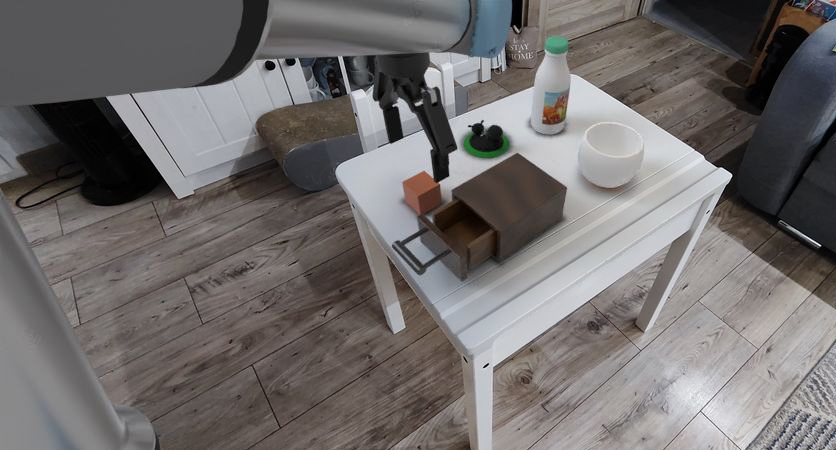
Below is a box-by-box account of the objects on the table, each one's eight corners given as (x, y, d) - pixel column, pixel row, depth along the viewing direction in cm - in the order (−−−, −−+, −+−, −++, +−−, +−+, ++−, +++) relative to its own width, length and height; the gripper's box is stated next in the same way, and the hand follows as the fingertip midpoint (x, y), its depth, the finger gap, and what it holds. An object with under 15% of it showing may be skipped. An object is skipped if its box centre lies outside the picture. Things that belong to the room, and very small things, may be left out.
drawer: (430, 304, 71) (425, 280, 66) (389, 260, 76) (383, 235, 72) (525, 237, 80) (528, 212, 76) (483, 203, 86) (483, 177, 81)
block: (420, 215, 85) (417, 196, 81) (405, 201, 87) (401, 182, 83) (442, 203, 87) (440, 184, 83) (426, 189, 89) (424, 170, 86)
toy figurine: (487, 124, 104) (487, 102, 100) (518, 144, 100) (520, 121, 95) (454, 142, 100) (452, 120, 95) (485, 164, 95) (485, 142, 91)
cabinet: (499, 263, 78) (500, 231, 72) (453, 221, 84) (451, 189, 78) (561, 219, 85) (567, 187, 79) (515, 184, 91) (517, 152, 85)
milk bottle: (527, 132, 103) (534, 47, 88) (533, 113, 108) (541, 29, 93) (561, 138, 102) (574, 52, 87) (566, 118, 107) (579, 34, 92)
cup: (564, 163, 96) (570, 125, 88) (617, 153, 98) (627, 115, 91) (589, 203, 88) (598, 165, 81) (646, 191, 90) (659, 153, 83)
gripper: (479, 66, 59) (480, 186, 75) (376, 3, 71) (396, 118, 87) (432, 87, 56) (444, 207, 72) (332, 17, 68) (361, 133, 84)
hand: (418, 158), depth 79 cm, fingers open, 13 cm apart
